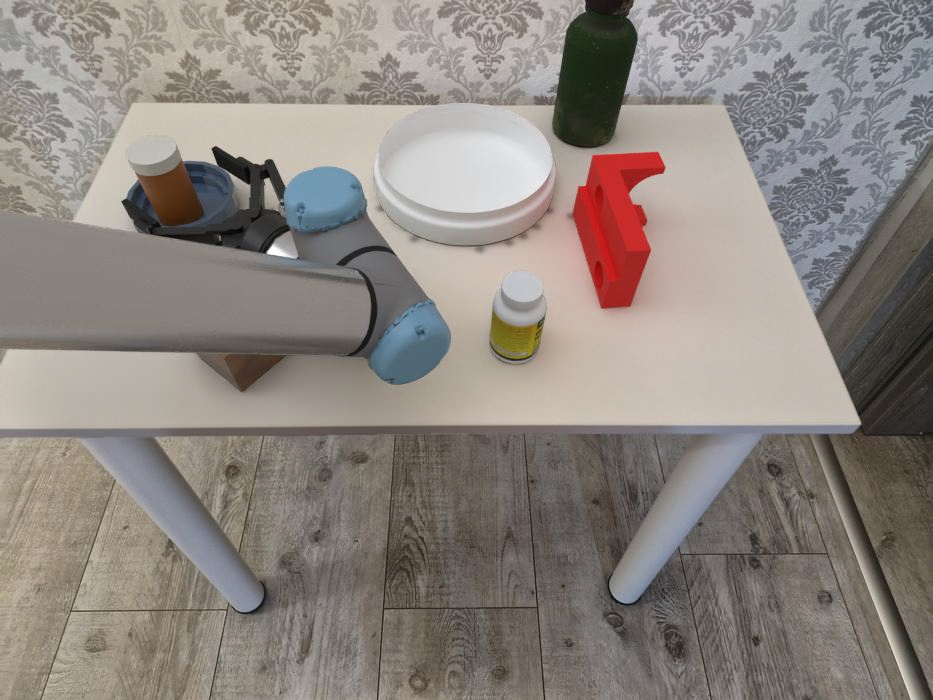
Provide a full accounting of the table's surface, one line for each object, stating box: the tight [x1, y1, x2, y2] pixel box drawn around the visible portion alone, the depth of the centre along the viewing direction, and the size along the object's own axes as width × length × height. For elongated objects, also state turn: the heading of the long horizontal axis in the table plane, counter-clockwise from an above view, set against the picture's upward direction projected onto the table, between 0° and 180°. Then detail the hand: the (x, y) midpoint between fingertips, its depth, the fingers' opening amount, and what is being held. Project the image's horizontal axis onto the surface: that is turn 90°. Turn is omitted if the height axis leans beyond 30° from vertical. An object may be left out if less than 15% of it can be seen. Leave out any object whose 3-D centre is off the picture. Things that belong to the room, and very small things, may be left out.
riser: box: [196, 353, 287, 393], centre depth 72 cm, size 8×8×7 cm
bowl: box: [126, 160, 240, 229], centre depth 87 cm, size 14×15×4 cm
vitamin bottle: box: [124, 133, 203, 226], centre depth 83 cm, size 6×6×11 cm
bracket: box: [572, 151, 667, 309], centre depth 81 cm, size 18×10×10 cm
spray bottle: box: [551, 0, 639, 147], centre depth 92 cm, size 10×10×25 cm
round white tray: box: [373, 102, 557, 247], centre depth 92 cm, size 27×27×6 cm
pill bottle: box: [489, 270, 548, 365], centre depth 72 cm, size 6×6×11 cm
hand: (173, 180), depth 80 cm, fingers open, 13 cm apart
